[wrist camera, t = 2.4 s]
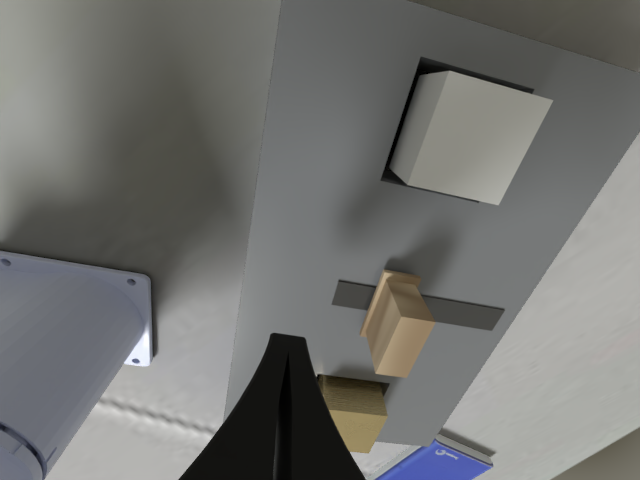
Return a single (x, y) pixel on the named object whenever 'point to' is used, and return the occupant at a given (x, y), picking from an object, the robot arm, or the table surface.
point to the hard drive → (435, 462)
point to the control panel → (410, 196)
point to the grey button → (466, 135)
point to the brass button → (355, 409)
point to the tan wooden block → (396, 324)
